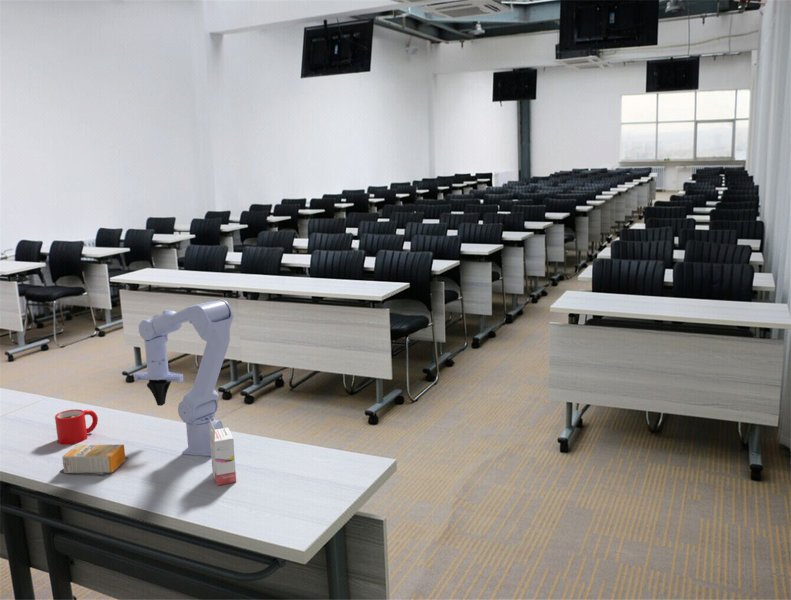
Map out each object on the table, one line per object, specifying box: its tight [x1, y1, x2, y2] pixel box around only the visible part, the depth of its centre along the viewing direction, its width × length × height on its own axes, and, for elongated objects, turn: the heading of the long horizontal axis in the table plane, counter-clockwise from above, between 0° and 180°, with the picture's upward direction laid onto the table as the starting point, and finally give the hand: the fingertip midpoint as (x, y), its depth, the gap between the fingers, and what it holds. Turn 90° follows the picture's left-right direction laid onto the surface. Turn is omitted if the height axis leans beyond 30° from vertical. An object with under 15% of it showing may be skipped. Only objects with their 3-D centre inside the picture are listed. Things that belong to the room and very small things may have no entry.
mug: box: [54, 409, 99, 446], centre depth 205 cm, size 8×12×8 cm, turn 144°
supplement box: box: [62, 444, 126, 474], centre depth 184 cm, size 8×5×13 cm
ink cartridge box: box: [210, 420, 237, 486], centre depth 176 cm, size 9×5×15 cm, turn 23°
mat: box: [59, 456, 129, 477], centre depth 186 cm, size 13×11×1 cm
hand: (161, 404), depth 201 cm, fingers closed
